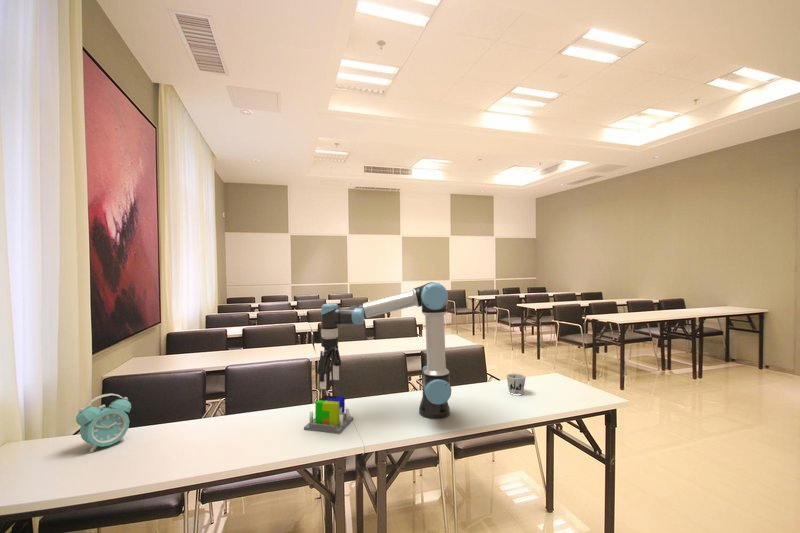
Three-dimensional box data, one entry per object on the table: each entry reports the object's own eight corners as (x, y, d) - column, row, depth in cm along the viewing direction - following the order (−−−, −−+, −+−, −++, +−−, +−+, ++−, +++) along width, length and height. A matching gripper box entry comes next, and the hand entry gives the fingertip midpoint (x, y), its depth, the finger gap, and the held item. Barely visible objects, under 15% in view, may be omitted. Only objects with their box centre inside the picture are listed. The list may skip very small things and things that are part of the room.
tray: (353, 419, 170) (353, 406, 170) (339, 433, 155) (339, 419, 155) (320, 415, 174) (320, 402, 174) (303, 429, 159) (303, 415, 159)
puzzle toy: (344, 418, 168) (344, 396, 169) (336, 427, 159) (336, 404, 159) (324, 416, 170) (324, 395, 171) (315, 425, 161) (315, 402, 161)
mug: (507, 396, 202) (507, 378, 202) (504, 387, 217) (504, 371, 217) (527, 397, 200) (527, 379, 200) (522, 388, 215) (522, 371, 215)
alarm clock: (82, 457, 135) (82, 403, 136) (72, 450, 140) (73, 399, 141) (135, 439, 150) (135, 391, 150) (125, 433, 155) (125, 387, 155)
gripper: (333, 332, 178) (333, 375, 178) (308, 342, 154) (309, 392, 154) (347, 333, 176) (347, 376, 176) (324, 343, 152) (325, 393, 152)
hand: (329, 384), depth 165 cm, fingers open, 13 cm apart
